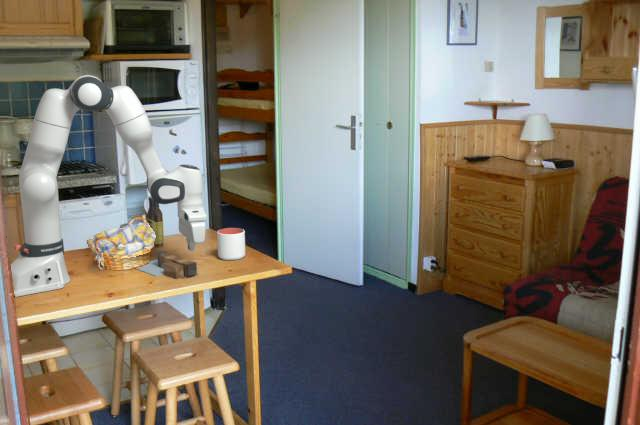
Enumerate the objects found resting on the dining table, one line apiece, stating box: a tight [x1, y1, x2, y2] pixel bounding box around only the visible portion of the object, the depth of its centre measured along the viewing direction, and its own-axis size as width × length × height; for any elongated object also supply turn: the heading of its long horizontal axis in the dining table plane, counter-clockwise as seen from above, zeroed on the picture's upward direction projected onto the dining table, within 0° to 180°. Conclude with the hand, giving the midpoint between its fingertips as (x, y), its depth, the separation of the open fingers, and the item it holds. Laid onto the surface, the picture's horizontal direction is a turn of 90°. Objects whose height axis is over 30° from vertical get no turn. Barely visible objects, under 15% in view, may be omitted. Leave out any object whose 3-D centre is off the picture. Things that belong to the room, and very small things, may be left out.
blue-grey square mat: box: [135, 259, 165, 277], centre depth 249 cm, size 16×16×1 cm
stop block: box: [164, 262, 199, 280], centre depth 239 cm, size 8×8×4 cm
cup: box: [216, 227, 246, 261], centre depth 258 cm, size 10×10×10 cm
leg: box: [156, 250, 198, 277], centre depth 243 cm, size 19×4×5 cm, turn 47°
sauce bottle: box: [145, 195, 165, 248], centre depth 273 cm, size 7×6×20 cm
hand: (191, 250), depth 246 cm, fingers closed
